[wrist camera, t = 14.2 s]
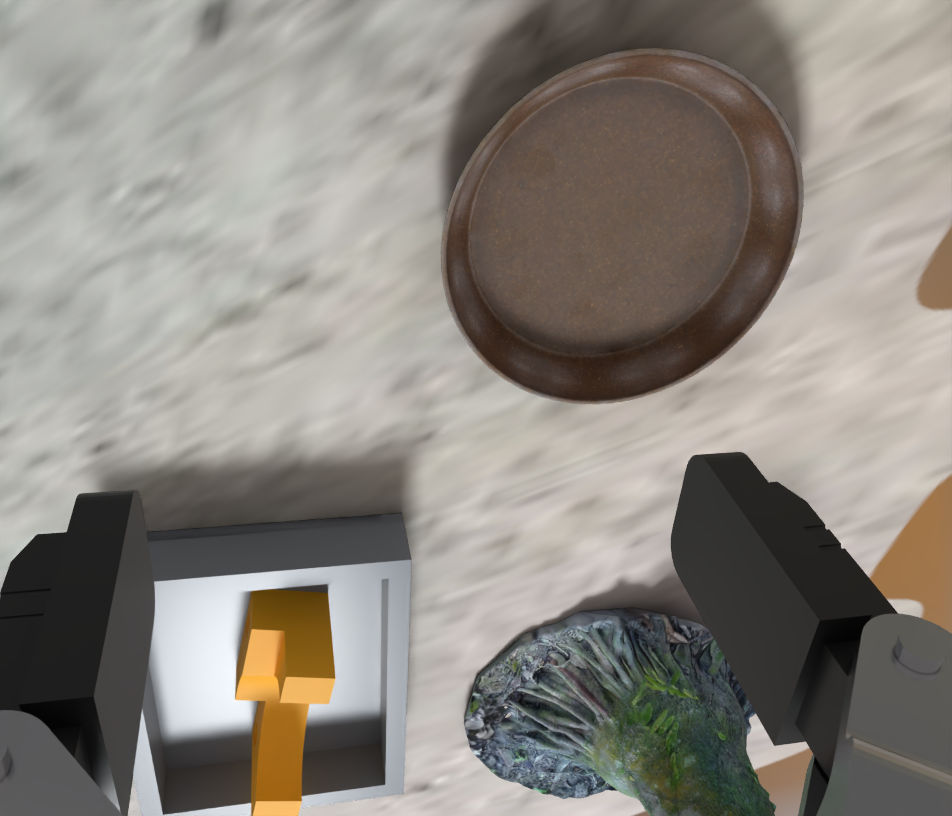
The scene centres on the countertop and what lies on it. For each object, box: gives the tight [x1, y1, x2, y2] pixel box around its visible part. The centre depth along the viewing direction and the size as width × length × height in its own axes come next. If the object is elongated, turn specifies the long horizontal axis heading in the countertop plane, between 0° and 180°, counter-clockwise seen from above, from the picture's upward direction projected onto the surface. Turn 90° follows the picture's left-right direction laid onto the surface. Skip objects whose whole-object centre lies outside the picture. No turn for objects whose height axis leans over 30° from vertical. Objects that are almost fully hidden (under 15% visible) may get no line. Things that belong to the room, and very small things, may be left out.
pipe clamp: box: [235, 589, 336, 816], centre depth 52 cm, size 12×4×6 cm, turn 164°
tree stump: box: [464, 608, 776, 816], centre depth 59 cm, size 18×20×18 cm
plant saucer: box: [441, 48, 804, 404], centre depth 44 cm, size 18×18×3 cm
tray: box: [133, 513, 411, 816], centre depth 53 cm, size 16×20×4 cm
